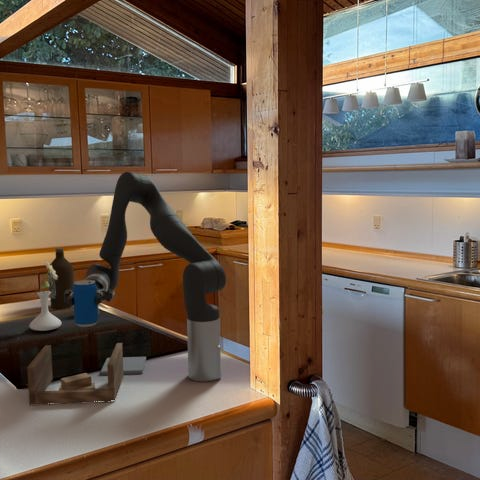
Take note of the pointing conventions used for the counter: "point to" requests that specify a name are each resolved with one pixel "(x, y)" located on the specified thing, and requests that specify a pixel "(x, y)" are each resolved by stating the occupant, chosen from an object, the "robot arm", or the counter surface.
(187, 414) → the counter surface
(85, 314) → the beverage can
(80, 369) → the counter surface
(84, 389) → the lower offcut
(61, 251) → the olive oil
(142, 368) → the grey mat
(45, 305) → the flower in vase
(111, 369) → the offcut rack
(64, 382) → the upper offcut
